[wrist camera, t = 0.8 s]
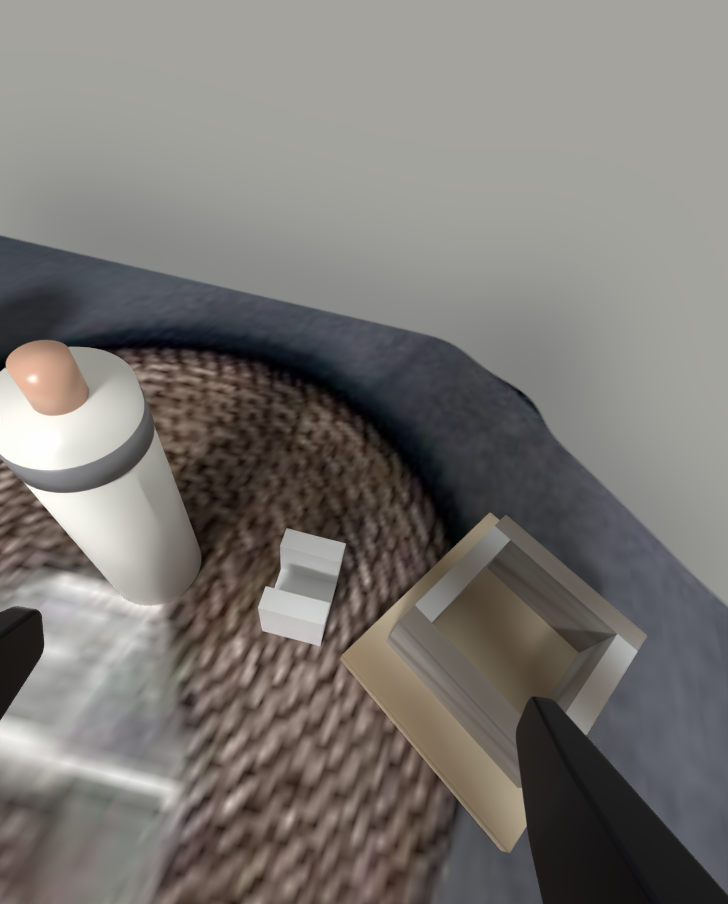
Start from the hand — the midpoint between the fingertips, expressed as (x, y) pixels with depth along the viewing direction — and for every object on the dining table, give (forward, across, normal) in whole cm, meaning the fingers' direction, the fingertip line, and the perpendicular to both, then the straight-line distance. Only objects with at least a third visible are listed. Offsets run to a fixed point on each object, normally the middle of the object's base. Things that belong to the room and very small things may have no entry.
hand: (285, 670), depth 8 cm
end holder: (+13, -9, +10) cm, 19 cm away
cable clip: (+14, +1, +10) cm, 17 cm away
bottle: (+14, +9, +9) cm, 19 cm away
